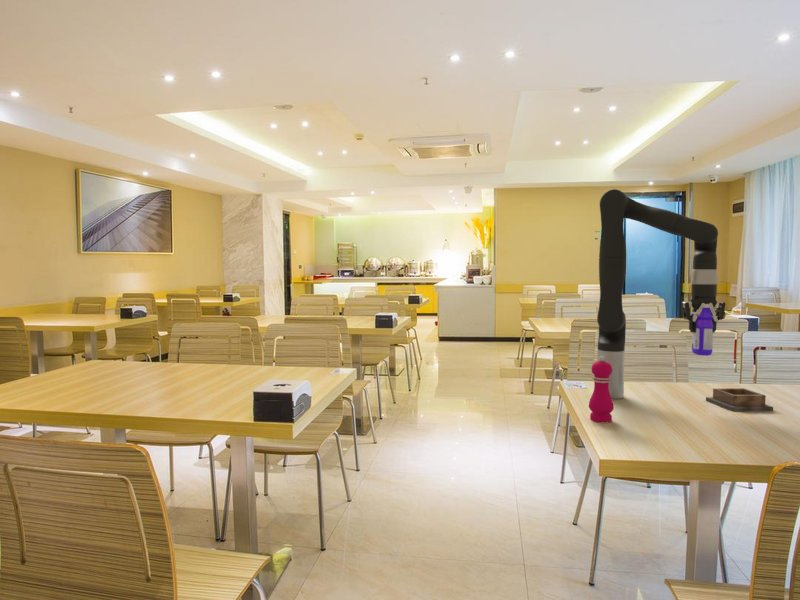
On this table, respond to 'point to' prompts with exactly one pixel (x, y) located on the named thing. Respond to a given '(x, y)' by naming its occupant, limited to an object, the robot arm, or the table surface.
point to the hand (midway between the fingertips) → (702, 332)
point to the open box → (739, 399)
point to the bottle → (703, 333)
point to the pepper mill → (601, 392)
